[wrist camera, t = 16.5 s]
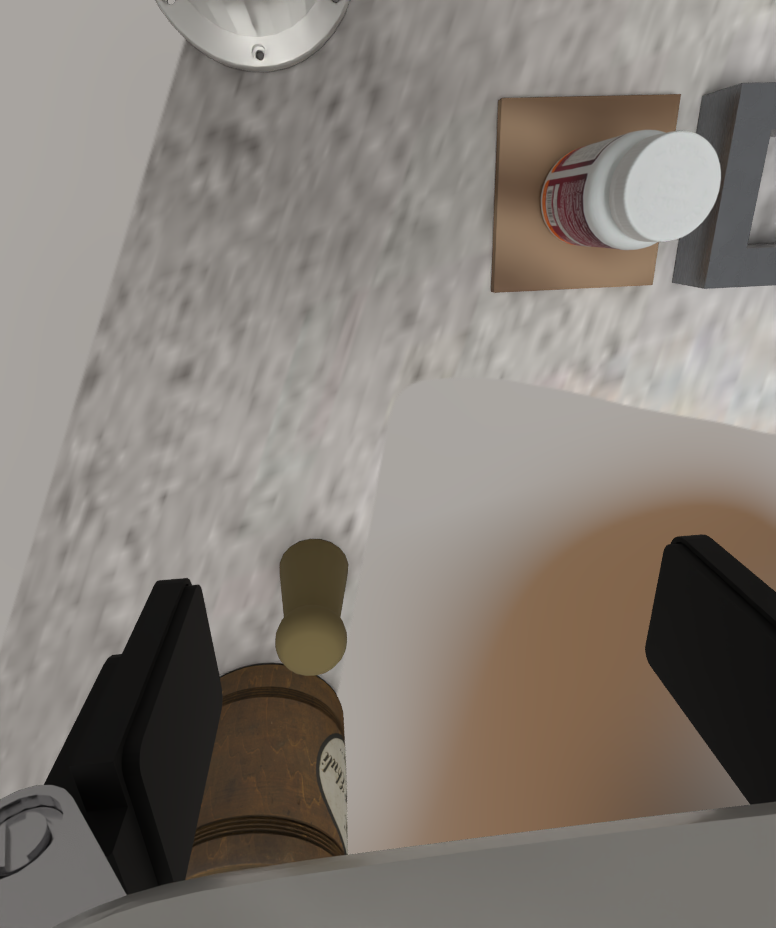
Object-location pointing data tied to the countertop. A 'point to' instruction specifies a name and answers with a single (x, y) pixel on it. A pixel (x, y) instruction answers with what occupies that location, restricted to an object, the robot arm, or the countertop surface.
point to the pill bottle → (632, 190)
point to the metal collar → (732, 192)
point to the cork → (312, 607)
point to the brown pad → (523, 176)
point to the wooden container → (273, 775)
